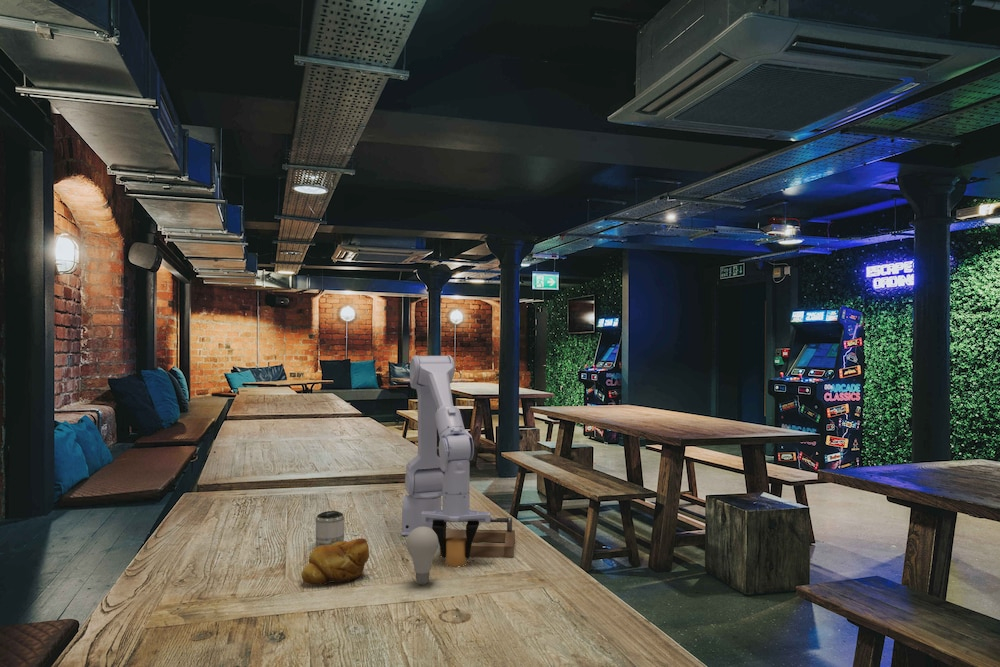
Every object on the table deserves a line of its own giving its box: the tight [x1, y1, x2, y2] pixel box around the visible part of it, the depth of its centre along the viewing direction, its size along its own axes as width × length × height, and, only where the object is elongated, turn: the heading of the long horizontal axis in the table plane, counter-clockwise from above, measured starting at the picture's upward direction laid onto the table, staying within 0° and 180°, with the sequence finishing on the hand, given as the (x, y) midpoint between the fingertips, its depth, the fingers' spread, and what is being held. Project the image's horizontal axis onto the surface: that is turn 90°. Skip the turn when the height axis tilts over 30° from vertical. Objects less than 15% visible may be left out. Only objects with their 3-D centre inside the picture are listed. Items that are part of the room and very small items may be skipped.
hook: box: [490, 516, 513, 532], centre depth 145 cm, size 8×1×6 cm, turn 87°
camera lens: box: [315, 510, 345, 547], centre depth 141 cm, size 6×6×8 cm
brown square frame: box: [439, 528, 516, 559], centre depth 140 cm, size 16×12×2 cm
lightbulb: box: [406, 526, 439, 586], centre depth 119 cm, size 6×6×11 cm
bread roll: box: [301, 537, 370, 586], centre depth 122 cm, size 13×10×8 cm
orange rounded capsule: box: [445, 536, 467, 568], centre depth 130 cm, size 4×4×5 cm
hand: (456, 556), depth 130 cm, fingers closed on orange rounded capsule, 4 cm apart
